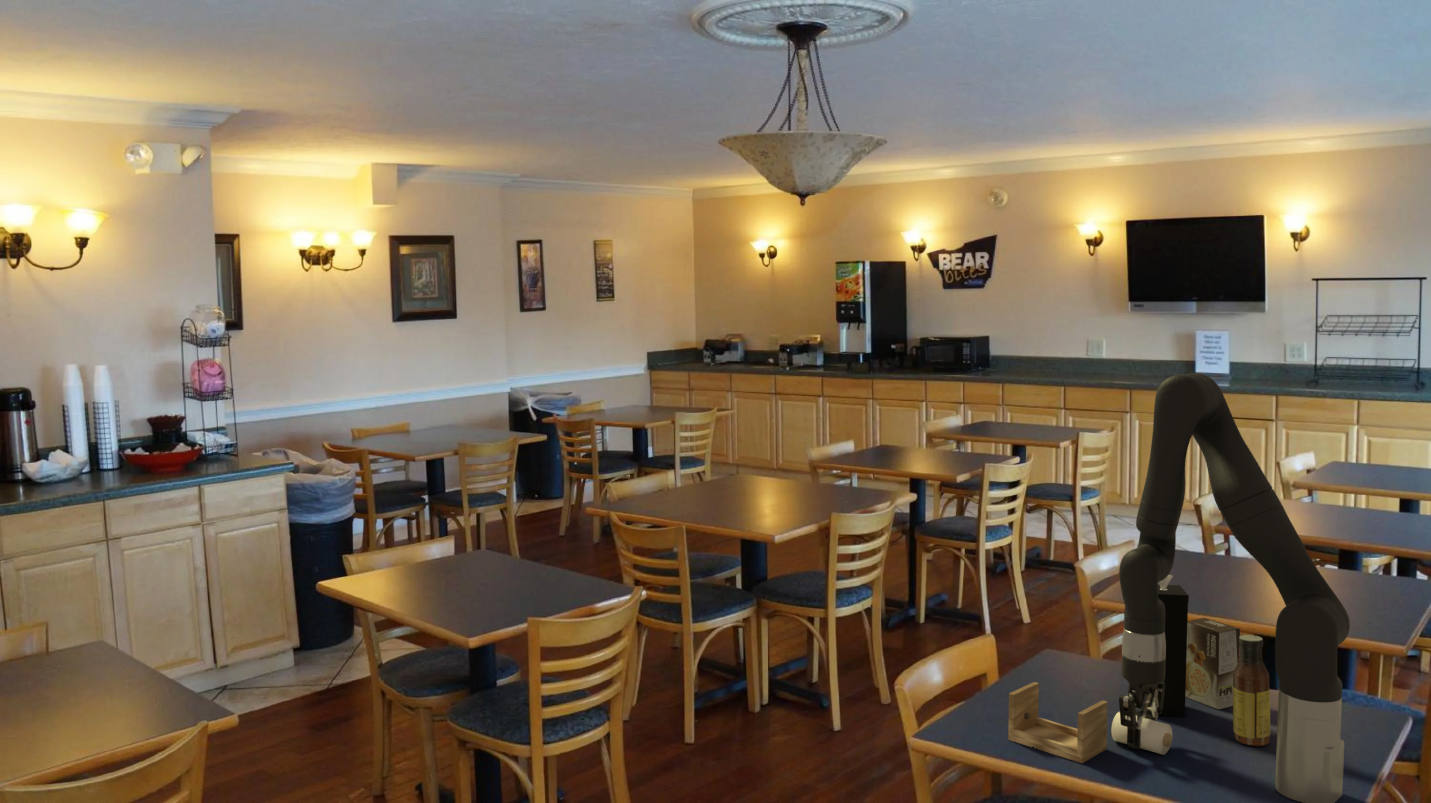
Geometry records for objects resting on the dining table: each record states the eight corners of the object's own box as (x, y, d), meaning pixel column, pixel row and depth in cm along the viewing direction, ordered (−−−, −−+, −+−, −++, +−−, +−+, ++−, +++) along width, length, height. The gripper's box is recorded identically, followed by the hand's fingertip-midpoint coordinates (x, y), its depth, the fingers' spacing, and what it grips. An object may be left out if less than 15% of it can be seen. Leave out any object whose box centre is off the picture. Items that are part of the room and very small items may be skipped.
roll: (1175, 750, 200) (1175, 721, 200) (1161, 759, 197) (1162, 729, 196) (1121, 735, 208) (1122, 707, 207) (1108, 743, 204) (1108, 714, 204)
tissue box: (1185, 717, 216) (1189, 578, 214) (1143, 714, 218) (1146, 577, 215) (1176, 703, 224) (1180, 569, 222) (1136, 700, 226) (1139, 567, 223)
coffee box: (1240, 705, 223) (1242, 628, 221) (1217, 710, 220) (1220, 632, 219) (1202, 690, 231) (1205, 616, 230) (1181, 695, 228) (1183, 620, 227)
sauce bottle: (1265, 736, 207) (1269, 633, 205) (1273, 749, 201) (1277, 643, 199) (1228, 733, 208) (1231, 631, 207) (1234, 745, 202) (1237, 641, 201)
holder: (1106, 748, 201) (1107, 701, 201) (1082, 763, 195) (1083, 714, 194) (1033, 726, 212) (1034, 681, 211) (1008, 739, 206) (1008, 693, 205)
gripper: (1145, 667, 193) (1143, 759, 195) (1180, 649, 203) (1178, 737, 204) (1105, 657, 198) (1103, 747, 200) (1141, 640, 208) (1139, 726, 210)
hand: (1141, 742), depth 202 cm, fingers closed on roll, 5 cm apart
